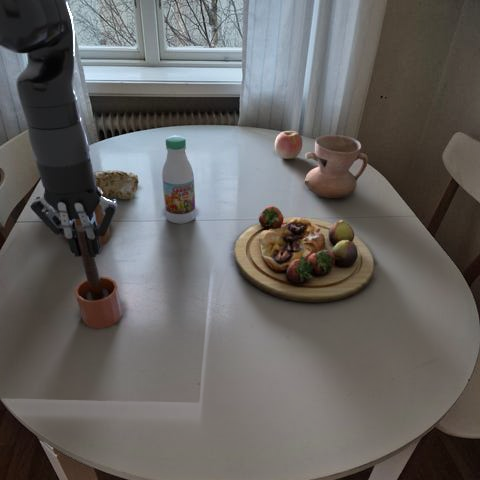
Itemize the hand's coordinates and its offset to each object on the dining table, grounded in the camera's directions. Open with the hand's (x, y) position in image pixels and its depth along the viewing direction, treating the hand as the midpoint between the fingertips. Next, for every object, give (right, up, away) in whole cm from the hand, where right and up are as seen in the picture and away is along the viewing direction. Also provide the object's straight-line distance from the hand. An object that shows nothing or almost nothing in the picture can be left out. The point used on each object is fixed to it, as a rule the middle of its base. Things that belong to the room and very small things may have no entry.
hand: (87, 254), depth 73 cm
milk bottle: (+11, +16, +39) cm, 43 cm away
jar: (-10, +9, +30) cm, 33 cm away
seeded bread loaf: (-12, +22, +45) cm, 52 cm away
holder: (-1, -11, +10) cm, 15 cm away
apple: (+42, +43, +69) cm, 92 cm away
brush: (-1, -10, +10) cm, 14 cm away
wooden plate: (+40, +2, +26) cm, 48 cm away
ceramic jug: (+53, +26, +52) cm, 79 cm away
